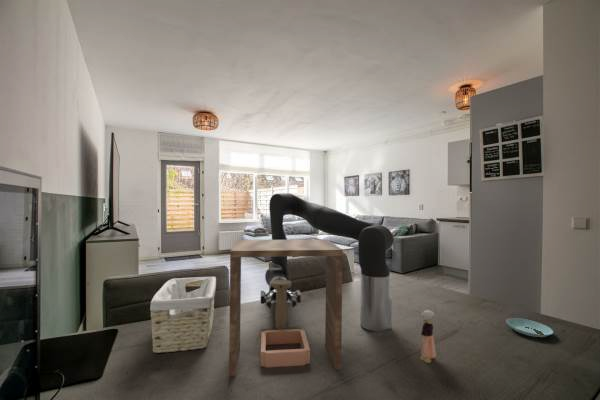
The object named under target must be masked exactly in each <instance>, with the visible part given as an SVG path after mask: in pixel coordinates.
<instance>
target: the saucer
mask: <svg viewBox="0 0 600 400" xmlns="http://www.w3.org/2000/svg"><path fill="white" fill-rule="evenodd" d="M505 321H506V324H507V325H508V326H509V327H510V328H511V329H513V330H514V331H515V332H517V333H519V334H521V335H523V334H524V336H526V335H527V337H530V336H531V337H530V338H537V337H540V338H546V337H548V336H550V335H553V334H554V330H553V328H551V327H549V326H547V325H545V324H543V323H540V322H537V321H534V320H530V319H526V318H521V317H520V318H519V317H511V318H507V319H506V320H505ZM525 327H529V329H528V328H525ZM531 328H532V329H531ZM533 329H536V330H538V331H541V332H542V333H543V334H544V335H540V334H537V333H536V332H535V331H534V330H533Z"/></svg>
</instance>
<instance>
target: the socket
mask: <svg viewBox="0 0 600 400" xmlns="http://www.w3.org/2000/svg"><path fill="white" fill-rule="evenodd" d="M260 333H261V335H260V339H261V340H260V367H265V368H276V367H278V368H279V367H280V368H281V367H294V366H295V367H296V366H305V365H306V364H308V365H309V364H310V363H311V359H310V358H311V348H310V345H309V341H308V338H307V335H306V332H305V329H300V328H296V329H294V328H293V329H283V330H279V329H271V330H265V331H261V332H260ZM282 344H283V345H286V344H300V347H301V348H296V349H295V348H293V349H290V348H289V349H275V350H274V349H273V350H272V349H271V350H266V347H267V345H282Z"/></svg>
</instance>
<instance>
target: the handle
mask: <svg viewBox="0 0 600 400" xmlns="http://www.w3.org/2000/svg"><path fill="white" fill-rule="evenodd" d="M272 287H273V288H275V289H276V302H275V308H274V317H275V328H276V330H287V329H286V328H287V322H288V302H287V289H288V288H290V289H291V287H292V281H291V280H290V281H289V280H274V281H272Z"/></svg>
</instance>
